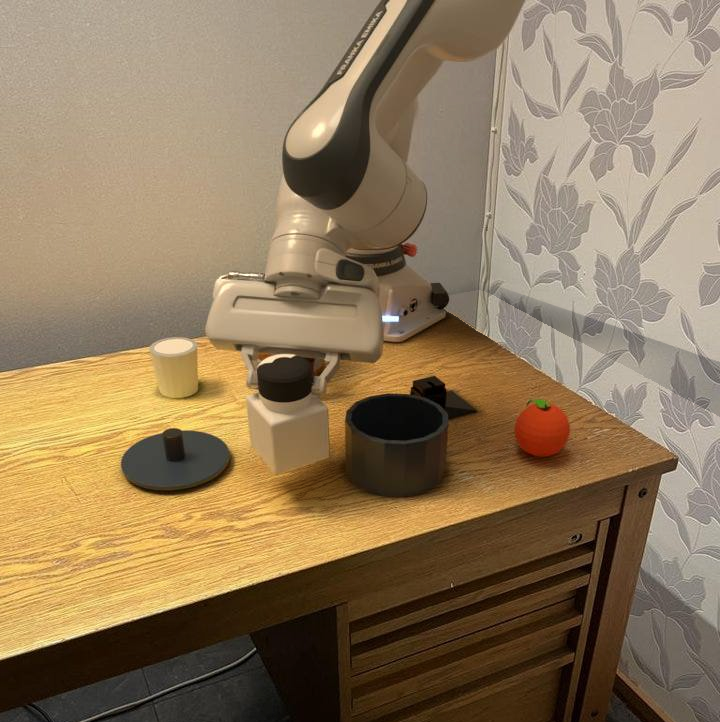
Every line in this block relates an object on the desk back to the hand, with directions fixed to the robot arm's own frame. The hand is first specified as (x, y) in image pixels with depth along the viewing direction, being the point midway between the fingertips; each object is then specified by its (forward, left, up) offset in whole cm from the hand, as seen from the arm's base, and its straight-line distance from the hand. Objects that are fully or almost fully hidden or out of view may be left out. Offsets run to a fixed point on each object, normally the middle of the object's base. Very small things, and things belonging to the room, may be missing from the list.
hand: (286, 391), depth 89 cm
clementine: (-30, +14, -14) cm, 35 cm away
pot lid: (+7, -14, -13) cm, 20 cm away
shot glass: (-4, -32, -14) cm, 35 cm away
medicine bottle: (0, 0, -9) cm, 9 cm away
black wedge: (-27, -3, -14) cm, 30 cm away
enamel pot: (-13, +5, -13) cm, 19 cm away
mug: (-19, -24, -14) cm, 33 cm away
